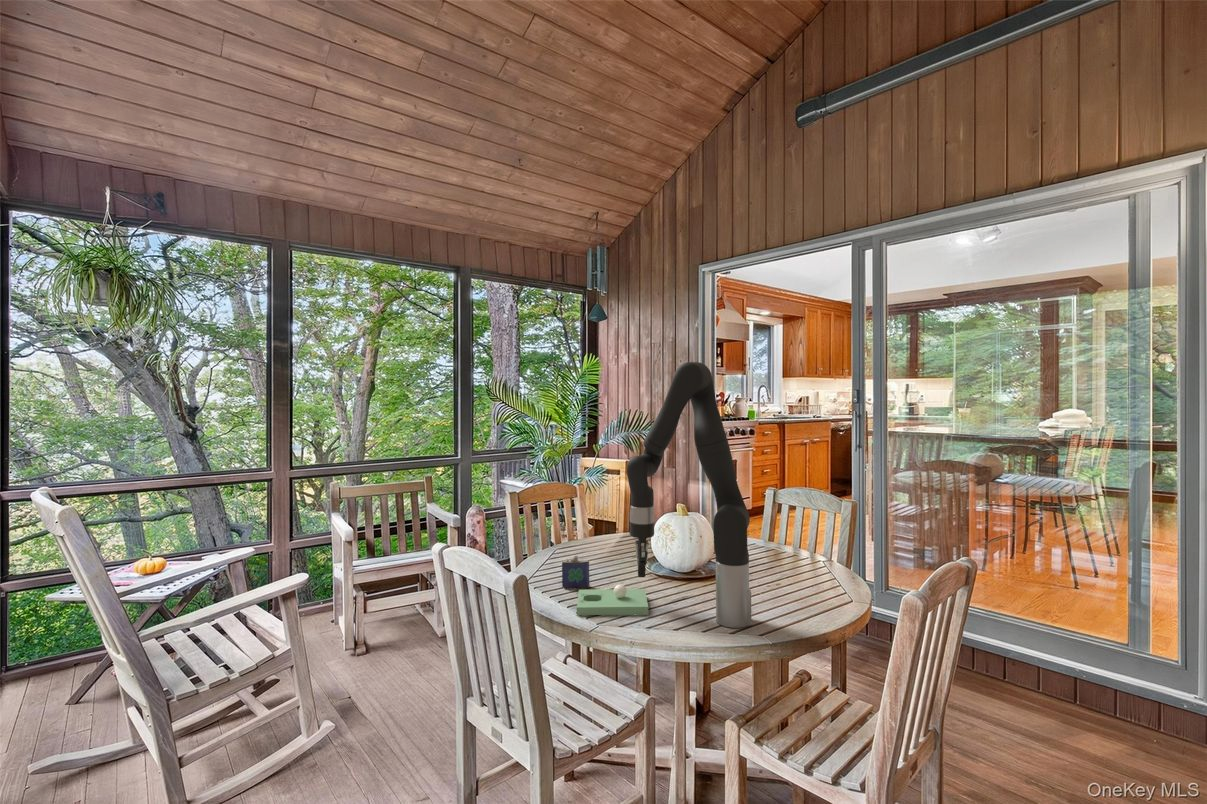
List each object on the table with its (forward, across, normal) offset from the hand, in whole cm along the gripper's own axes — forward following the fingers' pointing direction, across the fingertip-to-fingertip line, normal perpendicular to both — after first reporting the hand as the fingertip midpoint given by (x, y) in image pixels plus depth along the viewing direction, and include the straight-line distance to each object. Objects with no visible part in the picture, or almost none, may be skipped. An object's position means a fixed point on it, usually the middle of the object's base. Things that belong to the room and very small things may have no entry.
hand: (641, 576), depth 172 cm
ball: (+5, 0, +6) cm, 8 cm away
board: (+9, 0, +9) cm, 13 cm away
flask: (+10, +17, +21) cm, 29 cm away
